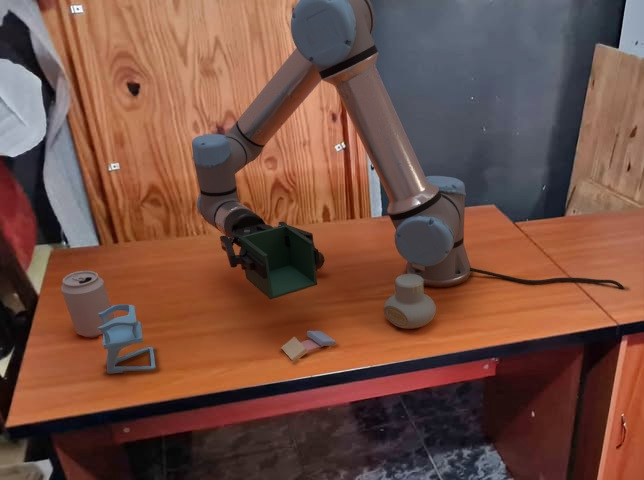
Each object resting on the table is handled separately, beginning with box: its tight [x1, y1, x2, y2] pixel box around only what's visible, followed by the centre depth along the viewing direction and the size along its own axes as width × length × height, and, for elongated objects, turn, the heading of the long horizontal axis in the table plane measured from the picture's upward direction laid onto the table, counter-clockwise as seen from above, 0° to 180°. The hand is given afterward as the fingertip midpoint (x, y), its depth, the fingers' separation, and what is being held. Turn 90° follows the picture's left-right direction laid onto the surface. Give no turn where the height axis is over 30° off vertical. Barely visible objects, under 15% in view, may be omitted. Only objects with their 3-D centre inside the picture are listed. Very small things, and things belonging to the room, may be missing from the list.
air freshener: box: [383, 273, 437, 330], centre depth 141 cm, size 11×8×10 cm
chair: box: [98, 303, 157, 375], centre depth 125 cm, size 8×8×12 cm
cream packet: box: [280, 336, 309, 362], centre depth 132 cm, size 5×3×1 cm
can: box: [60, 270, 116, 338], centre depth 134 cm, size 8×8×12 cm
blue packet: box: [306, 330, 337, 347], centre depth 135 cm, size 5×3×1 cm
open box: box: [239, 224, 318, 301], centre depth 131 cm, size 10×10×9 cm
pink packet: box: [300, 338, 325, 354], centre depth 134 cm, size 5×3×1 cm
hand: (291, 264), depth 127 cm, fingers closed on open box, 10 cm apart
